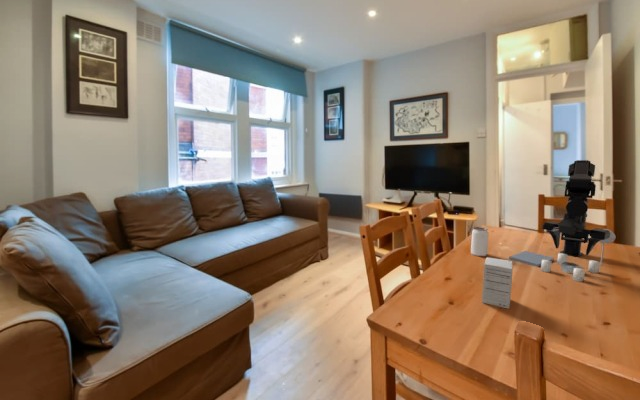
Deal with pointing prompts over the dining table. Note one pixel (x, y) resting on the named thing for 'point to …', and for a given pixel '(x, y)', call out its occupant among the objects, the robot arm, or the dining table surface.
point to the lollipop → (606, 241)
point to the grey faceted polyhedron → (568, 267)
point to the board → (530, 258)
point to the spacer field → (578, 272)
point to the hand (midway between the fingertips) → (571, 251)
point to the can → (479, 241)
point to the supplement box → (497, 282)
